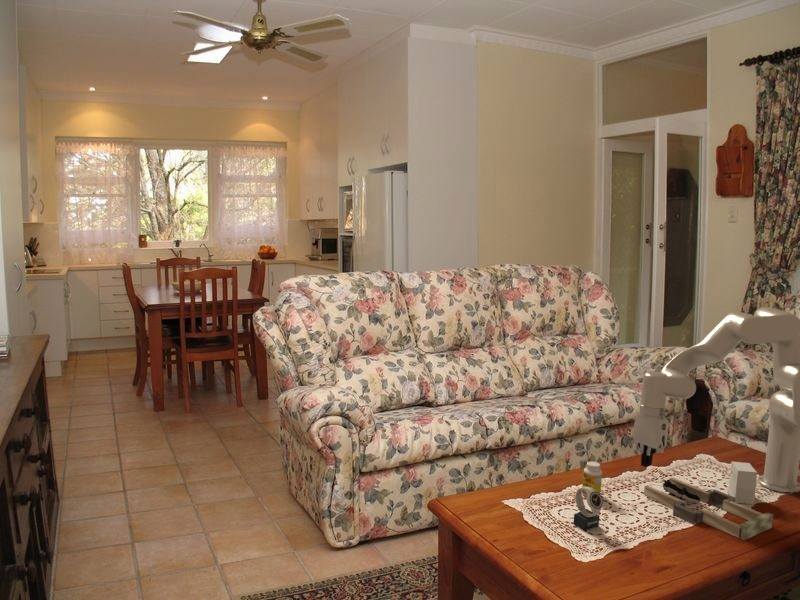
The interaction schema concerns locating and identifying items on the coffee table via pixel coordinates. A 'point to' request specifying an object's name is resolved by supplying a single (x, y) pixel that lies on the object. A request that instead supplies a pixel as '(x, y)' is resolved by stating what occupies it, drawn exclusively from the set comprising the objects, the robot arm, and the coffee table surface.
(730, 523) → the channel
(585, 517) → the watch
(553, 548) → the coffee table surface
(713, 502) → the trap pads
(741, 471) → the small box
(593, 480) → the supplement bottle
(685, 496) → the gaming controller
